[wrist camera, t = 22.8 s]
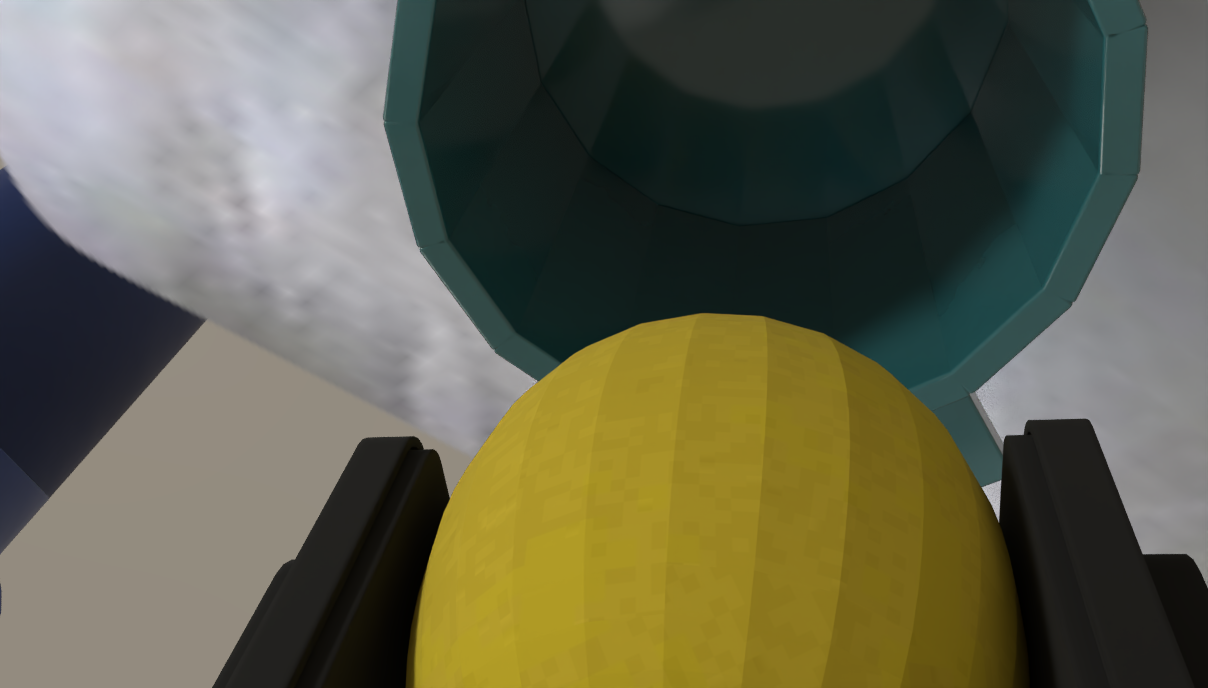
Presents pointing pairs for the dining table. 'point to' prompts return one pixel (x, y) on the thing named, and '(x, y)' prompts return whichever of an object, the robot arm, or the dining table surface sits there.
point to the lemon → (718, 528)
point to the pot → (772, 171)
